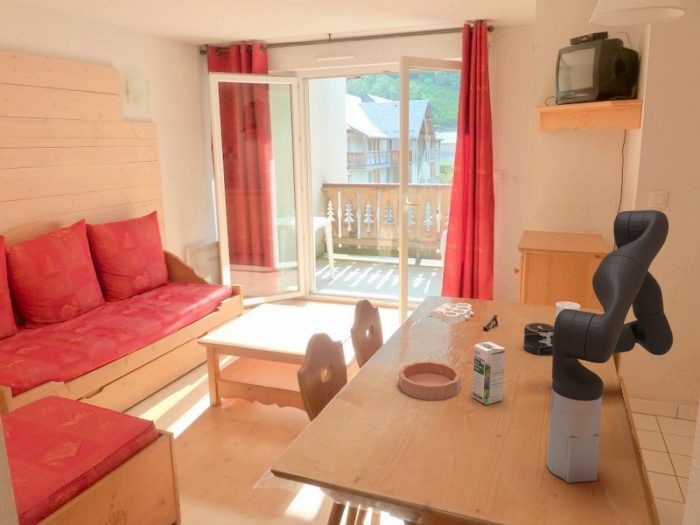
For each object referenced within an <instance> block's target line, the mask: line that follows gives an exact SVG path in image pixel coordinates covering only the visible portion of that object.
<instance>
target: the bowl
mask: <svg viewBox="0 0 700 525" xmlns="http://www.w3.org/2000/svg"><path fill="white" fill-rule="evenodd" d="M398 385H399V387H400V390H401V392H402V393H404V394H405V395H408V396H410V397H412V398H413V399H420V400H425V401H440V400H442V401H443V400H446V399H447V400H448V399H449V398H451V397H455V396H456V395H458V393H459V392H460V389H461V373H460V372H459V370H458V369H457V368H455V367H454V366H451V365H448V364H447V363H444V362H435V361H432V360H431V361H430V360H429V361H416V362H415V361H414V362H412V363H409V364H406V365H405V364H404V365H403V366H402V368H401V369H400V370H399V372H398Z"/></svg>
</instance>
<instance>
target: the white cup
mask: <svg viewBox="0 0 700 525" xmlns="http://www.w3.org/2000/svg"><path fill="white" fill-rule="evenodd" d="M564 309H573V310H579V311H581V304H579V303H576V302H572V301H557V302H556V303H555V316H554V318H555V320H556V317H557V316H558V314H559V313H560V312H561V311H562V310H564ZM555 320H554V321H555Z"/></svg>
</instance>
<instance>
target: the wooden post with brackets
mask: <svg viewBox="0 0 700 525" xmlns="http://www.w3.org/2000/svg"><path fill="white" fill-rule="evenodd" d="M494 322H495V323H494ZM497 326H499V322H498V314H494V315H493V316H492V318H491V319H490V320H489V321H488V323H487V324H486V325H484V326H482V329H483V331H487V332H489V328H492V329H494V328H496V327H497Z"/></svg>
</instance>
